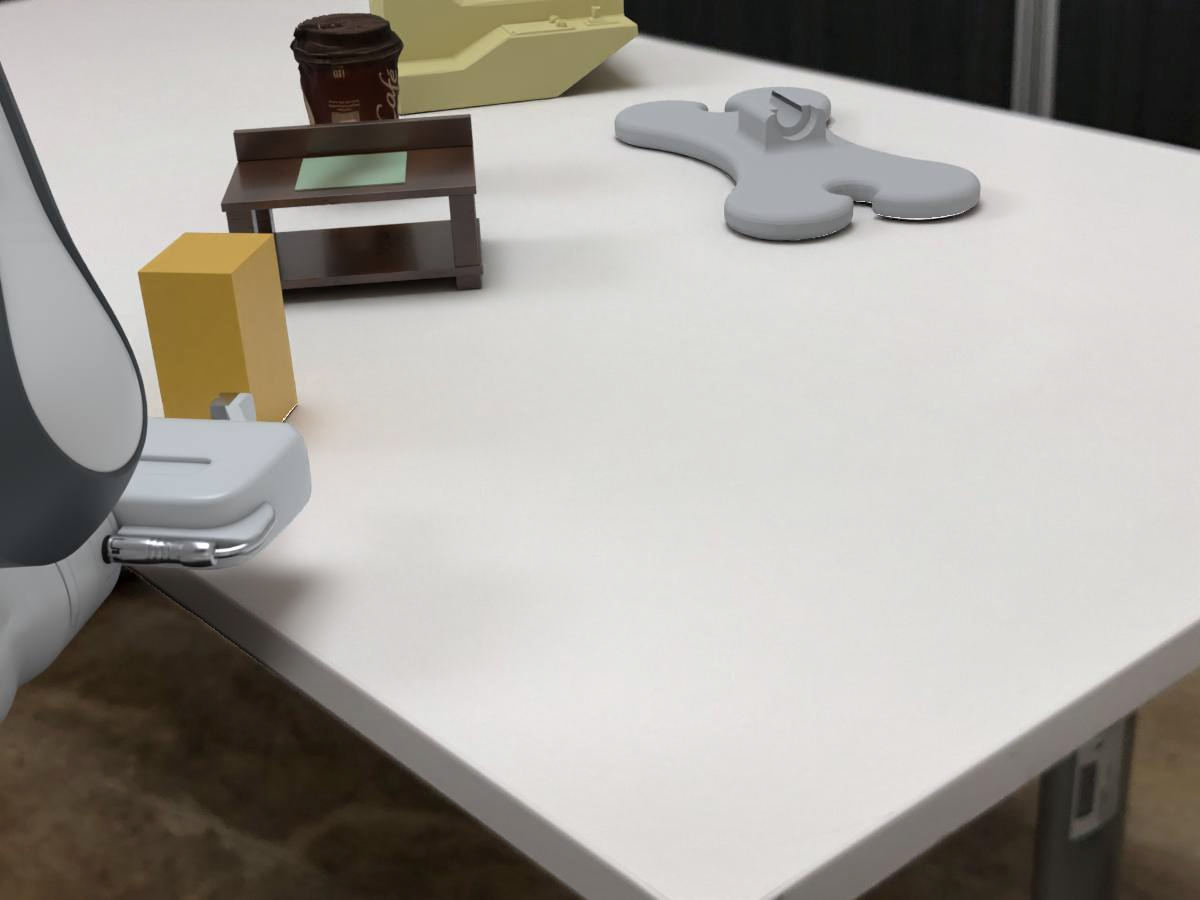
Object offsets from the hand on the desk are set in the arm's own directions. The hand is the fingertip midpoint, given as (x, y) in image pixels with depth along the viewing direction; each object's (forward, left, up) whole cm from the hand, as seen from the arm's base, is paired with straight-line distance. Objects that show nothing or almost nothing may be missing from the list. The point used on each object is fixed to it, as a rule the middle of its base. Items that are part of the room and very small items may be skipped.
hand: (147, 402), depth 75 cm
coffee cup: (+7, +51, -6) cm, 51 cm away
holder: (+40, +49, -6) cm, 63 cm away
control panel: (+19, +84, -6) cm, 86 cm away
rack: (+8, +32, -6) cm, 33 cm away
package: (+2, +9, -6) cm, 11 cm away
